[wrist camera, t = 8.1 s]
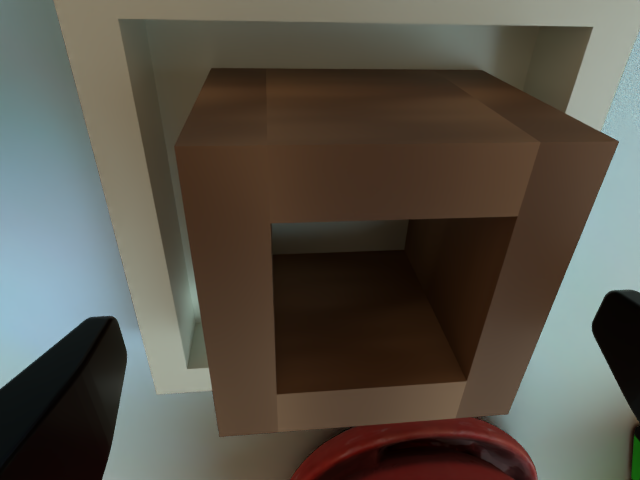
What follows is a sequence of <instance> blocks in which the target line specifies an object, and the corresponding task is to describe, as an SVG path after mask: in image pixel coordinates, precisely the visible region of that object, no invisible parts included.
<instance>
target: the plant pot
mask: <svg viewBox="0 0 640 480" xmlns="http://www.w3.org/2000/svg"><path fill="white" fill-rule="evenodd" d="M537 479H538V478H537V473H536V469H535V466H534V464H533V462H532V460H531V458H530V456H529V455H528V453H527V452H526V451H525V449H524V448H523V447H522V446H521V445H520V444H519V443H518V442H517V441H516V440H515V439H514V438H512V437H511V436H510V435H508V434H507V433H506V432H504V431H503V430H501V429H499V428H497V427H496V426H494V425H492V424H489V423H487V422H485V421H482V420H479V419H476V418H473V417H467V418H454V419H441V420H429V421H416V422H403V423H390V424H378V425H365V426H355V427H353V428H351V429H348V430H346V431H344V432H342V433H341V434H339V435H337V436H335V437H333V438H332V439H330V440H328V441H327V442H325V443H324V444H322V445H321V446H320V447H319V448H317V449H316V450H315V451H314V452H313V453H312V454H311V455H310V456H309V457H307V458H306V459H305V461H304V462H303V463H302V464H301V465H300V466H299V468H298V469H297V470H296V471H295V473H294V474H293V476H292V477H291V479H290V480H537Z"/></svg>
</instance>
